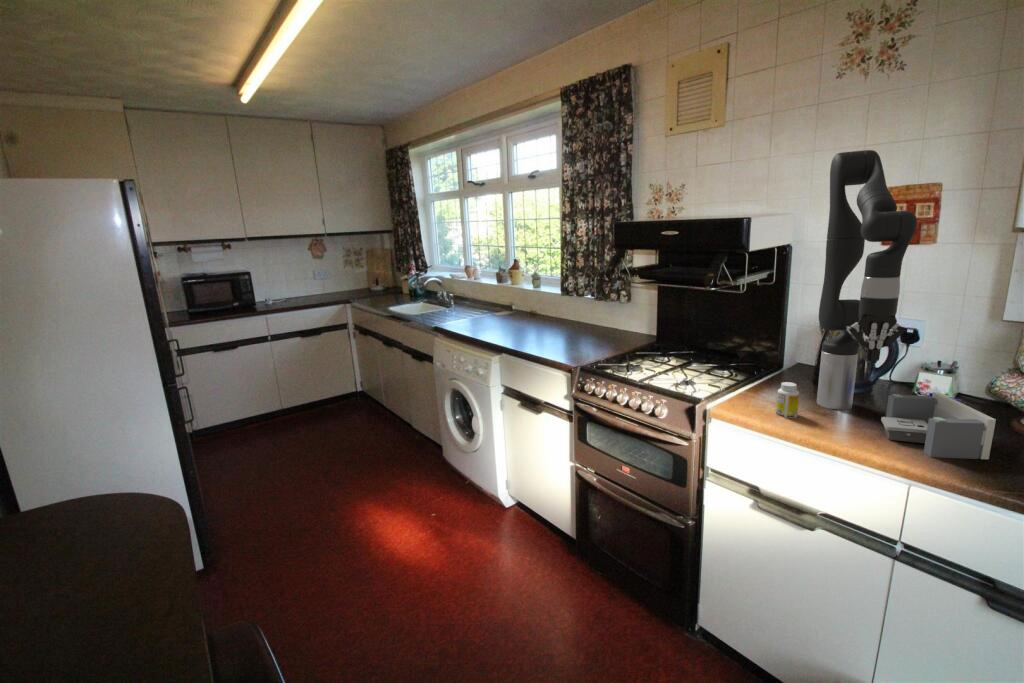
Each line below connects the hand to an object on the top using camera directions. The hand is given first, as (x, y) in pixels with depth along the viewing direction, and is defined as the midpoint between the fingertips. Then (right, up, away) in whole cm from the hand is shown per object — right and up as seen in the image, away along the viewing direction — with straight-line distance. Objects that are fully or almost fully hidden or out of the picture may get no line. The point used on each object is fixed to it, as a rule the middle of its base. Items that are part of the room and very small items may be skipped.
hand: (870, 362), depth 121 cm
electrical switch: (+16, -20, +2) cm, 26 cm away
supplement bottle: (-9, -17, +22) cm, 29 cm away
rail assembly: (+17, -20, +2) cm, 26 cm away
